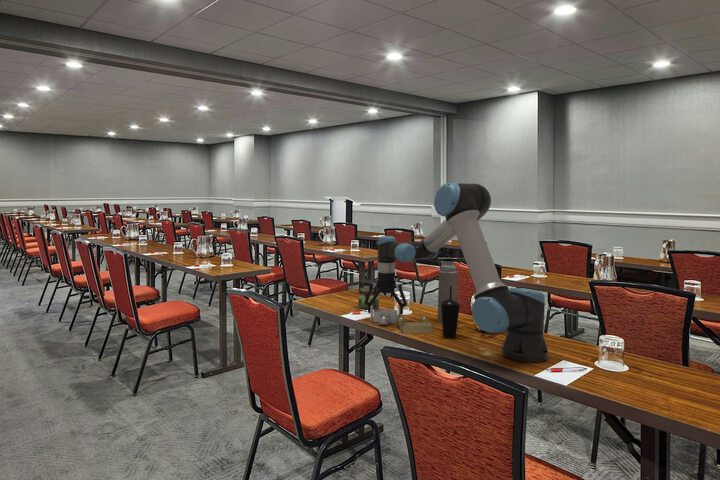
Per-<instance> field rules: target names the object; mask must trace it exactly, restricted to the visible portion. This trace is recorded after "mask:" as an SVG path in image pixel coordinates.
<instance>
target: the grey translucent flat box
mask: <svg viewBox="0 0 720 480" xmlns="http://www.w3.org/2000/svg"><path fill="white" fill-rule="evenodd" d="M396 325H397V326H398V328H399V330H400V331H401V333H402V334H403V335H406V334H408V335H410V334H411V335H412V334H434V333H435V331H434V330H435V329H434V325H433V323H431V322H430V321H429V318H428V315H420V317H419V322H417V321H416V322H405V316H404V315H400V316H398V315H397V324H396Z"/></svg>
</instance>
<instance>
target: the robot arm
mask: <svg viewBox="0 0 720 480" xmlns="http://www.w3.org/2000/svg"><path fill="white" fill-rule="evenodd" d="M433 202H434V203H433V204H434V210H435V212H436V213H437V215H439V216H441V217H444V218H445V219H444V220H443V221H442V222H441V223H440V224H438V225H437V227H435V228H434V229H433V230H432V231H431V232H430V233H429V234H428V235H427V236H426V237H424V238H423V239H422V240H421V241H415V242H414V241H413V242H412V241H411V242H398V241H397V240H396V237H395V236H393V235H392V236H391V235H389V236H388V235H383V236H382V235H381V236H379V237H378V238H377V242H378V243H377V278H376V280H377V283H371V284H370V290H369V292H368V294H367V297H366V299H365V302H364V304H365V305H368V312H367V313H368V314H370V315H369V316H370V317H369V318H370V322H373V312H374V311H373V305H371V304H372V303H373V302H374V300H375V299H376V298H377V296H378V295H379V296H380V294H381V293H382V294H391V296H392V297H393V298H394V300H395V301H396V303H397V304H398V308H397V310H398V311H397V317H398V316H403V314H404V307H407V306H408V302H407V301H408V300H407V298H406V296H405V294H404V291H403V284H402V283H396V282H395V281H396V279H395V278H396V276H395V275H396V273H395V271H396V270H395V269H396V261H398V262H401V263H404V262H405V263H410V262H411V261H417V260H432V259H435V258H437V257H438V255H439V253H440V252H439V251H440V249H442V247H444V246H445V245H446V244H448V243H449V242H450V241H451V240H453V238H454V237H456V238H457V240H458V244H459V246H460V250H461V251H462V255H463V257H464V260H465V262H466V263H465V264H466V265H467V269H468V271H469V274H470V277H471V279H472V282H473V285H474V288H475V293H474V295H473V299H474V302H473V303H472V309H471V314H472V315H471V316H472V318H473V321H474V323H475V324H476V326H477V327H479V329H481V330H482V331H484V332H486V333H491V334H493V333H502V332H505V331H507V332H506V333H507V334H506V336H505V338H504V341H503V343H502V347H501V356H503V357H505V358H507V359H509V360H513V361H517V362H523V363H541V362H545V361H547V360H548V359H549V350H548V347H547V344H546V340H545V337H544V336H545V335H544V330H545V329H544V327H545V305H546V300H545V299H546V297H545V294H544V292H541V291H539V290H534V289H528V288H520V287H519V288H518V287H510V288H509V286H508V285H507V284H505V283H503V282H502V281H501V279H500V276H499V273H498V270H497V266H496V265H495V262H494V260H493V257H492V255H491V252H490V249H489V246H488V244H487V241H486V239H485V237H484V233H483V231H482V228H481V225H480V223H479V220H480V219H482V217H484V216H485V215H486V213H488V212H489V209H490V208H491V204H492V196H491V194H490V192H489V190H488V189H487V188H486V187H485V186H483V185H481V184H480V183H463V182H462V183H459V182H447V183H444V184H442V185H441V186H439V187H438V189H437V191H436V193H435V196H434V201H433ZM396 241H397V242H396ZM375 286H377V288H378V289H379V290H378V291H377V293H376V294H375V296H374V297H373V298H372V300H371V301H370V302H368V300H369V297H370V295H371V293H372V290H373V288H375ZM395 288H396V289H397V290H398V292H399V294H400V297H401V299H402V301H401V299H400V297H399V296H398V294H397V293H396V291H395V290H394V289H395Z"/></svg>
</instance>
